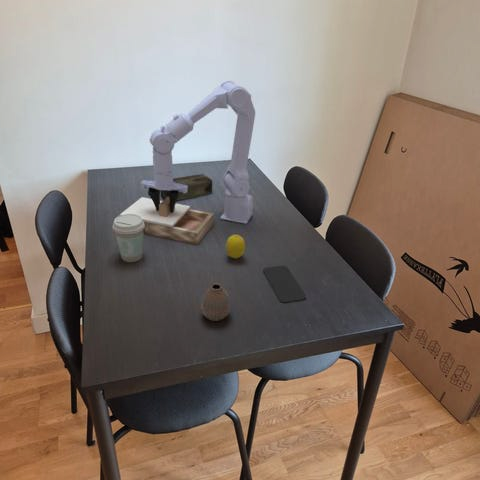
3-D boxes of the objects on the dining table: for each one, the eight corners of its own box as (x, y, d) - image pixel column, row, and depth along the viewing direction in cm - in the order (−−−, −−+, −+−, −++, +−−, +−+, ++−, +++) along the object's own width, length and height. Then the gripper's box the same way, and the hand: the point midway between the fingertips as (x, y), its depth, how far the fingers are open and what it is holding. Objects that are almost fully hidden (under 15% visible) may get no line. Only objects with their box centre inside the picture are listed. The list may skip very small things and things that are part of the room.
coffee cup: (111, 254, 112) (106, 218, 106) (138, 245, 117) (135, 210, 111) (124, 268, 107) (120, 230, 101) (152, 258, 112) (149, 222, 106)
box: (213, 224, 131) (213, 213, 129) (197, 244, 120) (197, 233, 117) (164, 214, 135) (164, 204, 133) (144, 233, 124) (143, 222, 121)
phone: (280, 302, 98) (261, 268, 110) (280, 305, 98) (261, 270, 110) (307, 298, 100) (286, 265, 112) (307, 300, 100) (285, 267, 112)
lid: (190, 208, 131) (189, 195, 128) (172, 227, 119) (171, 213, 117) (142, 199, 135) (140, 186, 132) (120, 216, 123) (118, 203, 121)
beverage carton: (213, 194, 152) (213, 178, 149) (167, 204, 143) (166, 187, 139) (203, 186, 158) (203, 171, 154) (159, 195, 148) (158, 179, 145)
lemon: (240, 251, 117) (241, 228, 113) (247, 261, 113) (248, 238, 109) (222, 254, 115) (223, 231, 111) (229, 265, 111) (230, 241, 107)
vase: (195, 317, 92) (194, 288, 87) (212, 302, 97) (213, 273, 92) (218, 329, 89) (219, 300, 84) (235, 313, 94) (237, 284, 89)
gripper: (189, 168, 121) (190, 207, 128) (145, 163, 123) (148, 202, 130) (183, 176, 115) (184, 217, 122) (136, 171, 117) (140, 212, 124)
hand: (165, 210), depth 125 cm, fingers open, 4 cm apart
